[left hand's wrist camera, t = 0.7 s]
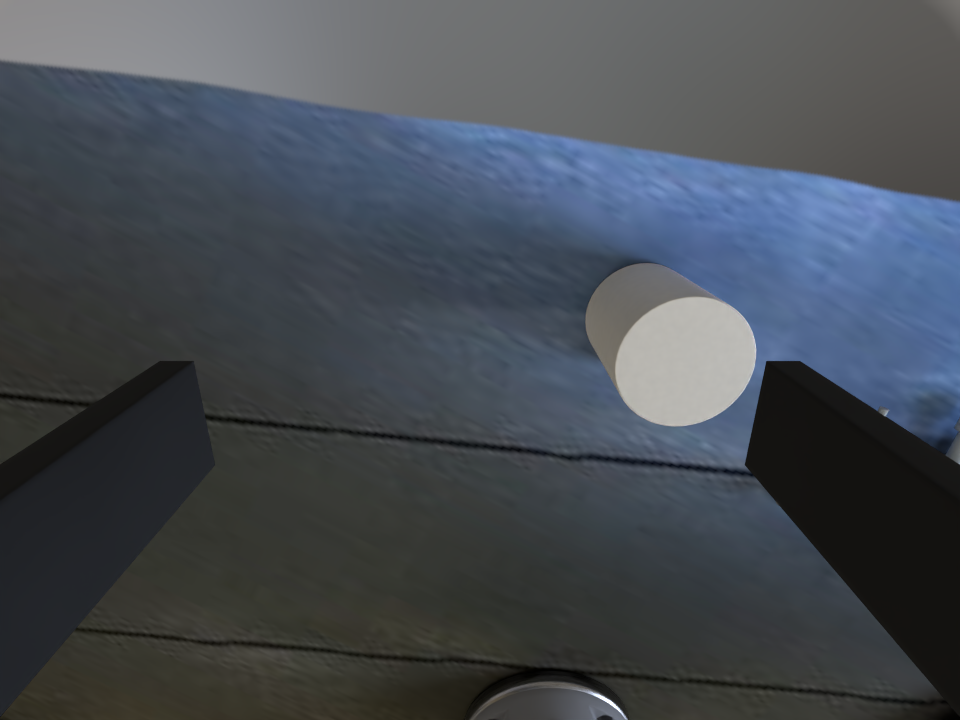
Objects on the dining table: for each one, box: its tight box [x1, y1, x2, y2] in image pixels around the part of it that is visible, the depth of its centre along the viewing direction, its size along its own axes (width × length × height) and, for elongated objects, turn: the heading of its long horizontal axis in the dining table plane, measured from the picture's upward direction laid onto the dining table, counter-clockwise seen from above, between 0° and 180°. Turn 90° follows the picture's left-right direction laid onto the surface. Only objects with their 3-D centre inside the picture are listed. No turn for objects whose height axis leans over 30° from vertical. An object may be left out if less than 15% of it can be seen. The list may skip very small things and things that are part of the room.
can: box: [585, 263, 756, 426], centre depth 31 cm, size 7×7×8 cm
